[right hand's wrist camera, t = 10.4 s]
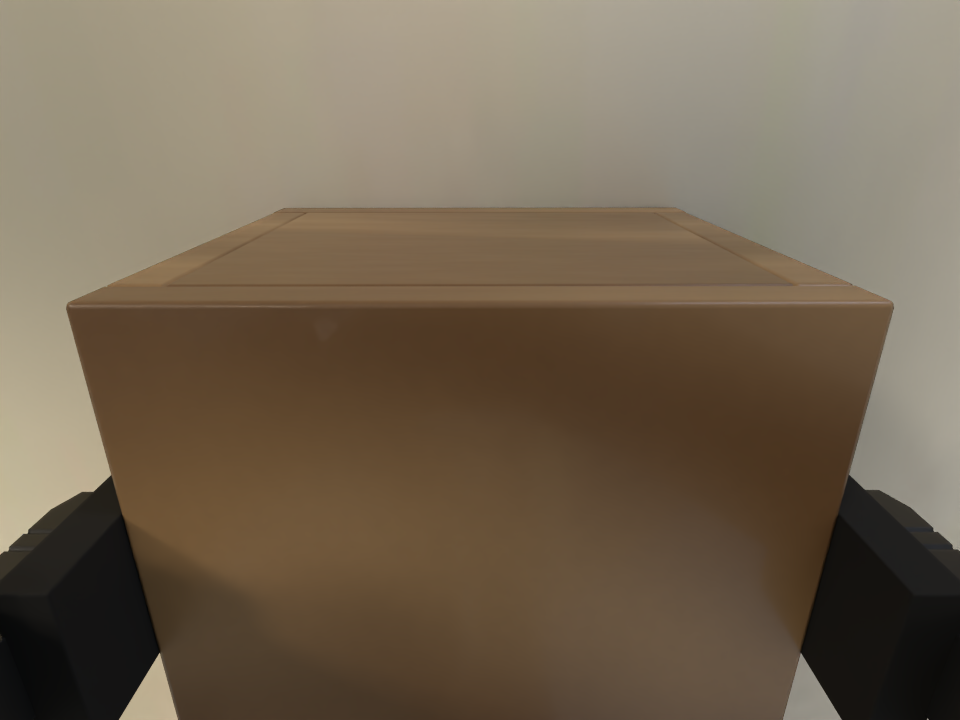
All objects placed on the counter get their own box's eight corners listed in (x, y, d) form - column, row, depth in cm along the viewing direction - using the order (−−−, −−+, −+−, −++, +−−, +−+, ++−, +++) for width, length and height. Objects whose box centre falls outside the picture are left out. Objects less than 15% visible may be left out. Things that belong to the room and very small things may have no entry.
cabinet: (621, 668, 22) (708, 1002, 14) (339, 668, 22) (253, 1003, 13) (676, 207, 16) (899, 301, 7) (283, 208, 16) (60, 302, 7)
